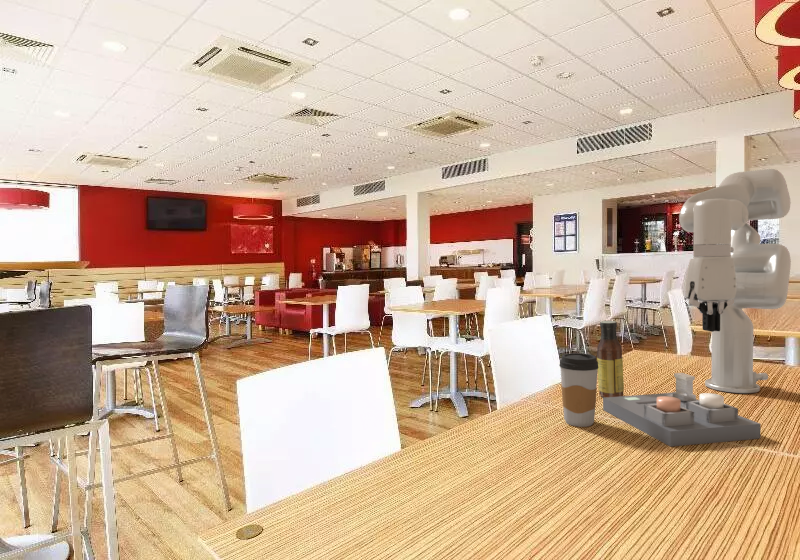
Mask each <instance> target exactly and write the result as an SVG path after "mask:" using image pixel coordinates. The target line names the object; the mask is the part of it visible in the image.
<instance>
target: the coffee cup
mask: <svg viewBox="0 0 800 560" xmlns="http://www.w3.org/2000/svg"><path fill="white" fill-rule="evenodd" d="M558 365H559V367H560V378H561V379H560V381H561V386H560V387H561V397H562V406H563V407H562V408H563V418H564V419H563V420H565V423H566V424H567V425H569V426H572V427H573V426H574V427H578V428H579V427H580V428H583V427H584V428H585V427H586V428H587V427H591V426H592V425H594V422H595V416H596V415H595V414H596V406H597V392H598V391H597V390H598V387H597V385H598V384H597V383H598V368H599V367H598V361H597V355H594V354H589V353H582V352H581V353H579V352H571V353H564V354H562V355H561V359H560V360H559V364H558Z"/></svg>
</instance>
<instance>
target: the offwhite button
mask: <svg viewBox="0 0 800 560" xmlns="http://www.w3.org/2000/svg"><path fill="white" fill-rule="evenodd" d="M724 399H725V397H724V396H723V395H721V394H717V393H711V392H708V393H707V392H704V393H699V399H698V400H699V405H700V406H703V407H705V408H708V409H720V408H724V404H725V400H724Z"/></svg>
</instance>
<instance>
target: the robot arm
mask: <svg viewBox="0 0 800 560" xmlns="http://www.w3.org/2000/svg"><path fill="white" fill-rule="evenodd" d="M789 192H790V191H789V189H788V184H787V181H786V178H785V177H784V175H783V174H782V172H780V171H779V170H778V169H776V168H766V169H757V170H747V171H739V172H733V173H732V174H731V173H730V174H729V175H728V176H726V177H725V178H724V179H723V180H722V182H721V183H720V184H719V185H718V186H716V187H713V188H710V189H707V190H706V191H702V192H699V193H696V194H694V195H692V196H690V197H689V198H687V200H686V201H685V202H684V203H683V205H682V207H681V209H680V211H679V215H678V217H679V218H678V221H679V225H680V227H681V229H683V231H685V232H688V233H693V246H692V247H693V253H692V254H693V258H690V259H689V262H688V267H687V271H686V278H685V298H686V299H687V300H689V301H688V305H689V307H690V306H691V307H695V308H697V309H698V310H699V313H700V314H702V318H701V319H702V321H701V322H702V326H701V327H702V330H703V331H706V332H711V378H707V379H705V380H704V385H705V387H707V388H710V389H713V390H715V391H720V392H726V393H734V394H755V393H758V392H760V391H761V389H760V387H761V386H760V385H759V384H758V383H757V382H758V381H767V380H768V379H769V375H768V373H767V372H758V373H757V371H754V323H753V321H752V320H751V318H750V317H749V315H748V314H746V312H745V311H744V310H743V309H757V310H758V309H760V310H776V309H780V308H782V307H783V306H784V305H785V304H786V301H787V299H788V298H787V297H788V293H789V291H788V290H789V285H790V277H791V275H790V274H791V265H792V264H791V262H792V261H791V254H790V251H789V249H788V248H787V247H786V246H785V245H783V244H779V243H761V235H760V233H759V232H758V231H757V230H756V229H755V228H754V227H753V226H751V225H750V224H748V223H747V222H748V221H760V220H761V221H763V220H773V219H774V220H776V219H777V220H778V219H783V218H784V217H786V216H787V215H788V214H789V212H790V210H791V197H790V193H789Z"/></svg>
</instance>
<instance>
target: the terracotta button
mask: <svg viewBox="0 0 800 560" xmlns="http://www.w3.org/2000/svg"><path fill="white" fill-rule="evenodd" d="M657 409H658V410H661V411H663V412H665V413H669V412H681V400H680V399H678V398H675V397H668V396H660V397H657Z"/></svg>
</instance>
